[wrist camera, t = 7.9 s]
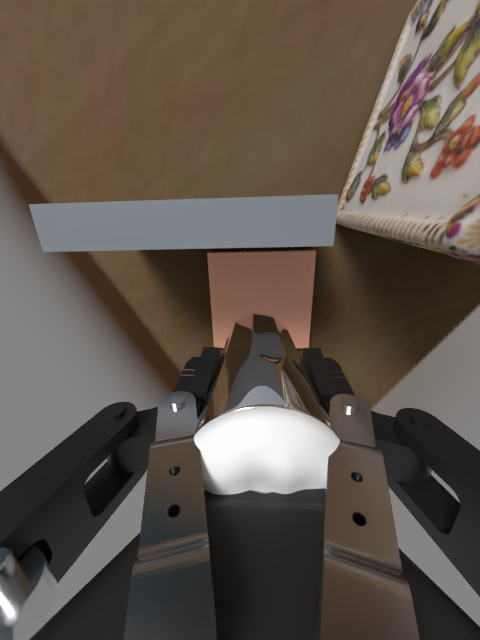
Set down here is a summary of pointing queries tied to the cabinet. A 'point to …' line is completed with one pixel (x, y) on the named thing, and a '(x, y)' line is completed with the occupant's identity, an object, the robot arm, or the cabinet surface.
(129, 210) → the screen
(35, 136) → the cabinet surface
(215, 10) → the cabinet surface
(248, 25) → the cabinet surface
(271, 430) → the milkshake
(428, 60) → the decorative jar
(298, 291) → the mat
